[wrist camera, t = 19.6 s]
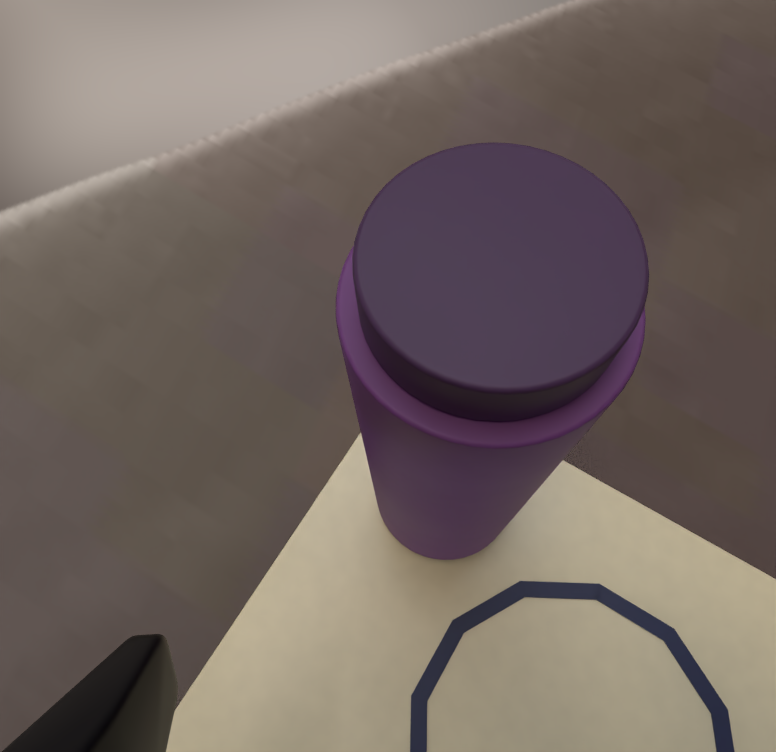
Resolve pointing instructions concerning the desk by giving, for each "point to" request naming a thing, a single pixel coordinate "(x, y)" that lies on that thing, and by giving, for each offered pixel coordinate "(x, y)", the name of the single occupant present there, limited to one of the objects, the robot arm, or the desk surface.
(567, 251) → the dot marker
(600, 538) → the drawing sheet
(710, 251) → the desk surface
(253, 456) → the desk surface
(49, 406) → the desk surface
